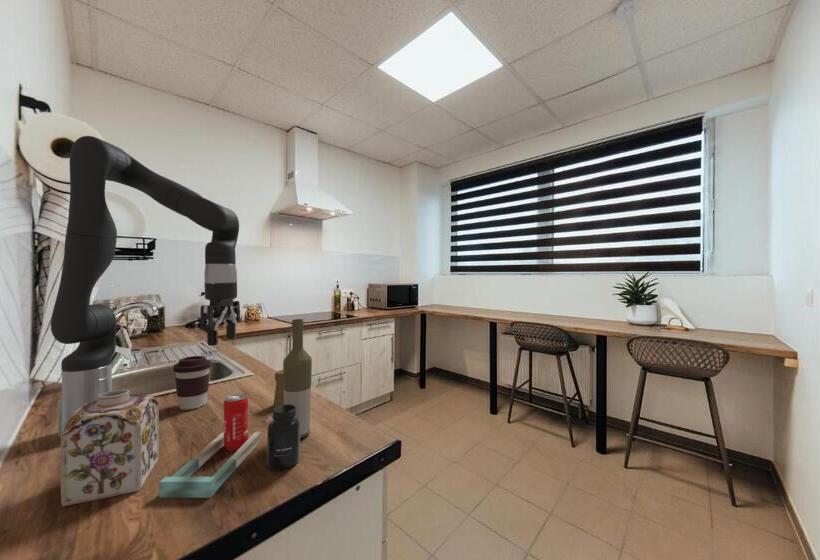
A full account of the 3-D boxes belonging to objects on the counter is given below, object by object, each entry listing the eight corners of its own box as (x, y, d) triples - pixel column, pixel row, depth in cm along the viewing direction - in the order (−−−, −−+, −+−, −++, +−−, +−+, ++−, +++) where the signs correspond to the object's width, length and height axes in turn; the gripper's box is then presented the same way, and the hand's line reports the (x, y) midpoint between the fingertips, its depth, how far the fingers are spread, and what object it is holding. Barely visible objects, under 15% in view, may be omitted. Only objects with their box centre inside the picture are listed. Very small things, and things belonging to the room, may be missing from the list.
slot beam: (159, 497, 60) (159, 481, 60) (223, 439, 81) (223, 427, 81) (210, 497, 60) (210, 481, 60) (261, 439, 81) (261, 427, 81)
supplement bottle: (280, 475, 67) (280, 418, 67) (260, 464, 71) (260, 410, 70) (306, 459, 73) (306, 406, 73) (287, 450, 76) (287, 400, 76)
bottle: (300, 425, 89) (300, 317, 88) (317, 433, 85) (317, 319, 84) (277, 436, 83) (277, 320, 82) (294, 444, 79) (294, 322, 78)
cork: (268, 407, 101) (268, 372, 101) (283, 399, 107) (282, 366, 106) (283, 410, 99) (283, 374, 99) (297, 402, 104) (297, 369, 104)
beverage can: (237, 453, 75) (237, 402, 75) (218, 450, 76) (218, 400, 76) (252, 441, 80) (252, 393, 80) (234, 439, 81) (234, 392, 81)
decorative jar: (58, 509, 57) (56, 408, 57) (91, 471, 68) (90, 386, 67) (142, 491, 62) (141, 398, 61) (161, 459, 72) (160, 379, 72)
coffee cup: (217, 403, 103) (217, 357, 103) (182, 415, 95) (182, 364, 94) (202, 397, 108) (201, 352, 108) (167, 407, 100) (167, 359, 100)
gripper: (222, 280, 93) (223, 336, 93) (188, 282, 79) (190, 348, 79) (248, 280, 93) (249, 336, 94) (219, 281, 79) (220, 347, 79)
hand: (222, 341), depth 86 cm, fingers open, 8 cm apart
